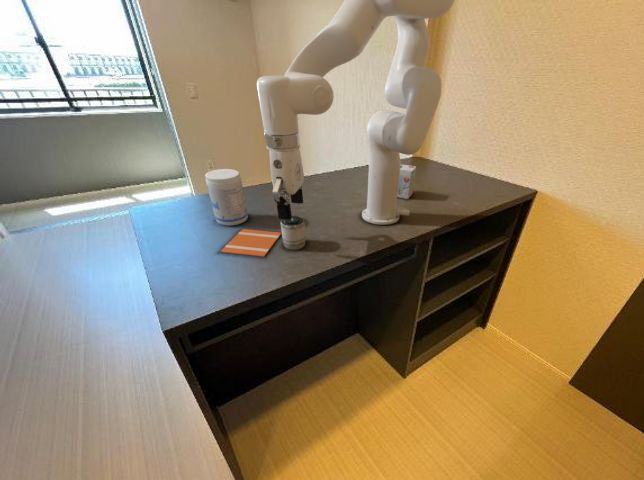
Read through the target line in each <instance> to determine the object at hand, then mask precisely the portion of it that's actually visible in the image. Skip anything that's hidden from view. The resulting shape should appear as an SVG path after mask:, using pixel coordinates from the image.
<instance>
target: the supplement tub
mask: <svg viewBox="0 0 644 480" xmlns="http://www.w3.org/2000/svg"><path fill="white" fill-rule="evenodd" d="M204 176H205V183H206V187H207V188H206V189H207V191H208V195H209V199H210V203H211V206H212V210H213V211H212V212H213V214H214V218H215V221H216V223H218V224H219V225H222V226H231V227H232V226H237V225H240V224H242V223H243V224H244V223H245V222H246V221H247V220H248V218H249V213H248V210H247V204H246V198H245V192H244V188H243V181H242V177H241V174H240V171H238V170H236V169H232V168H218V169H213V170H209V171H208V172H206V173H205V174H204Z"/></svg>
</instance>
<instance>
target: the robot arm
mask: <svg viewBox="0 0 644 480" xmlns="http://www.w3.org/2000/svg"><path fill="white" fill-rule="evenodd" d="M454 3H455V0H343V2H342V4H341V5H340V7H338V8H339V9H337V12H336V13H335V14H334V15H333V17H332V19H331V20H330V21H329V22H328V23H327V24H326V25H325V26H324V27H323V28H322V29H321V30H319V32H318V33H317V34H316V35H314V37H312V39H311V40H309V42H307V43H306V44H305V45H304V47H302V49H301V50H300V51H299V52H298V53H297V54H296V56H295V57H294V59H293V60H292V62H291V64H289V66H288V68H287V70H286V71H285V73H284V75H262V76H260V77H258V78H257V81H256V90H257V96H258V103H259V109H260V115H261V120H262V127H263V132H264V133H263V134H264V140H265V146H266V149H267V150H268V151H269V152H268V153H269V166H270V167H269V168H270V176H271V183H272V191H271V192H272V193H271V194H272V196H273V199H274V202H275V205H276V209H277V216H278V219H279V220H282V219H288V220H291V218H292V216H293V215H292V208H291V203H292V204H304V196H303V185H304V183H305V174H304V167H303V160H302V154H301V150H300V148H301V141H300V131H299V121H298V120H299V119H298V115H311V116H318V115H322V114H325V113H326V112H328V110H329V109H330V108H331V106H332V105H333V103H334V97H335V95H334V90H333V87H332V85H331V84H330V82H329V81H328V80H327V79H325V78H324V77H325V76H326V75H327V74H328V73H330V72H331V71H332V70H334V69H336V68H338V67H339V66H340V67H341V66H342V65H344V64H347V63H349V62H351V61H353V60H354V59H356V58H357V57H358V56H360V55H361V54H362V52H363V51H364V50H365V48H366V46H367V45H368V43H369V41H371V38H373V36H374V34H375V33H376V31H377V30H378V28H379V27H380V25H382V22H383V21H384V20H385V19H386V18H388V17H393V18H394V21H395V24H396V29H397V42H396V43H397V44H396V48H395V52H394V55H393V58H392V62H391V65H390V68H389V71H388V74H387V79H386V81H385V84H384V90H383V91H384V92H383V95H384V99H385V101H386V102H387V103H388V105H391V106H392V107H396V108H401V109H404V110H405V109H406V111H405V113H403V112H399V111H394V110H387V109H384V110H379V111H377V112H375V113H374V114H372V115H371V116H370V119H369V120H368V123H367V127H366V128H367V129H366V135H367V144H368V157H369V158H368V177H367V194H366V195H367V196H366V197H367V198H366V208H365V209H363V210H362V212H361V218H362V219H363V220H364V221H365V222H367V223H370V224H373V225H378V226H379V225H380V226H386V225H392V224H395V223H397V222H398V221H399V220H400V216H405V217H410V212H411V211H410V209H407V207H404V206H400V205H398V202H397V200H398V197H397V192H398V183H399V174H400V165H401V164H402V163H401V162H402V161H401V155H400V154H402V155H405V156H411V155H414V154H415V153H417V152H419V150H420V149H421V148H422V147H423V144H424V143H425V140H426V138H427V135H428V133H429V130H430V128H431V125H432V122H433V119H434V117H435V114H436V111H437V109H438V106H439V103H440V100H441V97H442V88H443V87H442V78H441V76H440V74H439V72H437V71H436V70H435V69H433V68H431V67H426V64H427V60H428V57H429V54H430V49H431V37H430V34H429V29H428V27H427V23H426V19H427V20H428V19H437V18H441V17H443V16H445V15H446V14H447V13H448V12H449V11H450V10H451V8H452V6H453V4H454ZM283 196H284V197H283ZM289 200H290V201H291V203H289Z"/></svg>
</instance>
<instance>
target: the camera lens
mask: <svg viewBox="0 0 644 480" xmlns="http://www.w3.org/2000/svg"><path fill="white" fill-rule="evenodd" d="M305 223H306V222H305V220H304V219H303V218H302V217H300V216H298V215H292V218H291V220H288V219H281V221H280V223H279V224H280V230H281V233H282V234H281V238H282V239H281V240H282V243H283V246H284V248H286V249H288V250H290V251H291V250H292V251H297V250H300V249H302V248H304V247H305V245H306V237H307V236H306V226H305Z"/></svg>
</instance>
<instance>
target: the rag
mask: <svg viewBox="0 0 644 480" xmlns="http://www.w3.org/2000/svg"><path fill="white" fill-rule="evenodd" d="M280 236H282V232H277V231H267V230H259V229H258V230H257V229H250V228H249V229H248V228H242V229H241V230H240V231H239V232H238V233H237V234H236V235H235V236H234V237H233V238H232V239H231V240H230V241H229V242H228V243H227V244H226V245H225V246H224V247H223V248H222V249H221V250H220V253H224V254H232V255H243V256H252V257H261V258H263V257H266V255H267V254H268V253H269V251H270V250H271V249H272V247H273V246H274V244H275V243H276V242H277V241H278V239H280Z"/></svg>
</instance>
